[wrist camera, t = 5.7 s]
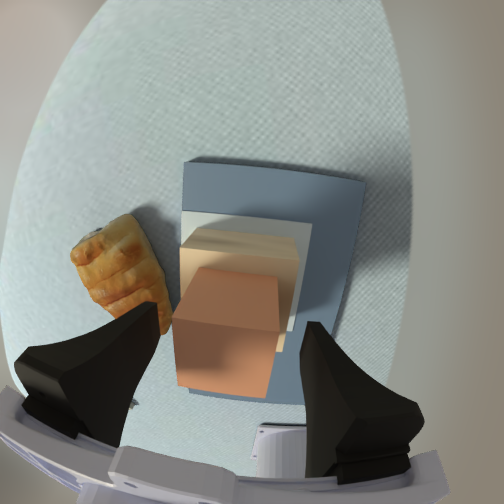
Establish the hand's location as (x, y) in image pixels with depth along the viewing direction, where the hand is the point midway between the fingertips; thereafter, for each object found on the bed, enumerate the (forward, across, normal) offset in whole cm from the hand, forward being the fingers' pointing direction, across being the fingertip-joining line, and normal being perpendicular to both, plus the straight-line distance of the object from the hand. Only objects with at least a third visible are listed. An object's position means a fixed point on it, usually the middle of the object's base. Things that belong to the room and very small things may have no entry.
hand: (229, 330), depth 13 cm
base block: (+6, 0, 0) cm, 6 cm away
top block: (+2, 0, 0) cm, 2 cm away
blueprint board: (+7, -2, +3) cm, 7 cm away
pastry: (+7, +8, +1) cm, 11 cm away
